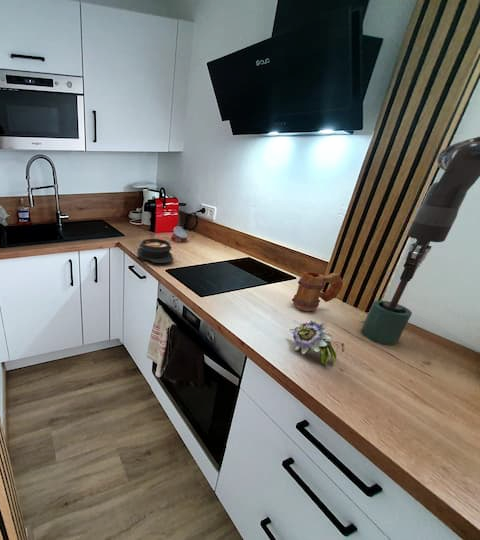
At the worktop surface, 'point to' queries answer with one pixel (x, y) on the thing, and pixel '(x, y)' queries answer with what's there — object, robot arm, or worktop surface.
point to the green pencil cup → (385, 324)
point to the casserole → (155, 250)
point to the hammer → (396, 298)
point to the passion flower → (314, 340)
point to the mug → (315, 290)
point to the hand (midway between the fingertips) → (405, 279)
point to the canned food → (179, 235)
